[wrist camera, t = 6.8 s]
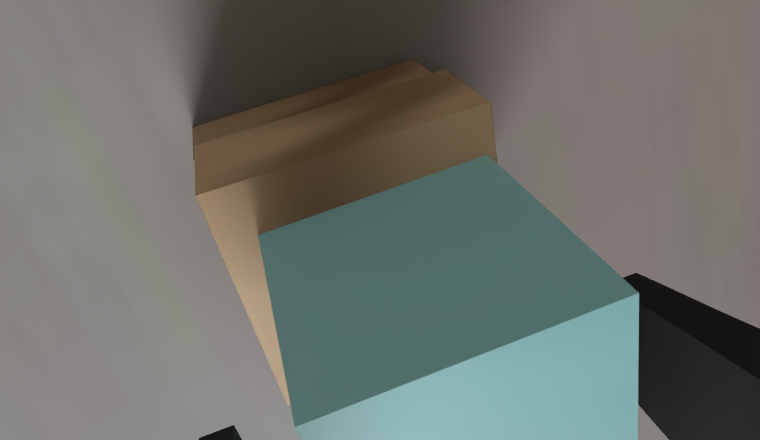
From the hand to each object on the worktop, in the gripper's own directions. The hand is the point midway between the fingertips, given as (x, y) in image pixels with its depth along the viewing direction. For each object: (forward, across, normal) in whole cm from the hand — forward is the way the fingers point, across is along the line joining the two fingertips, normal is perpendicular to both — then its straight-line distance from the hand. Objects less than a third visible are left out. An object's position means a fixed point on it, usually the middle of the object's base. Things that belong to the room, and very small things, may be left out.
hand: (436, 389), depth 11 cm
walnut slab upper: (+6, 0, -1) cm, 6 cm away
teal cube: (+3, 0, 0) cm, 3 cm away
